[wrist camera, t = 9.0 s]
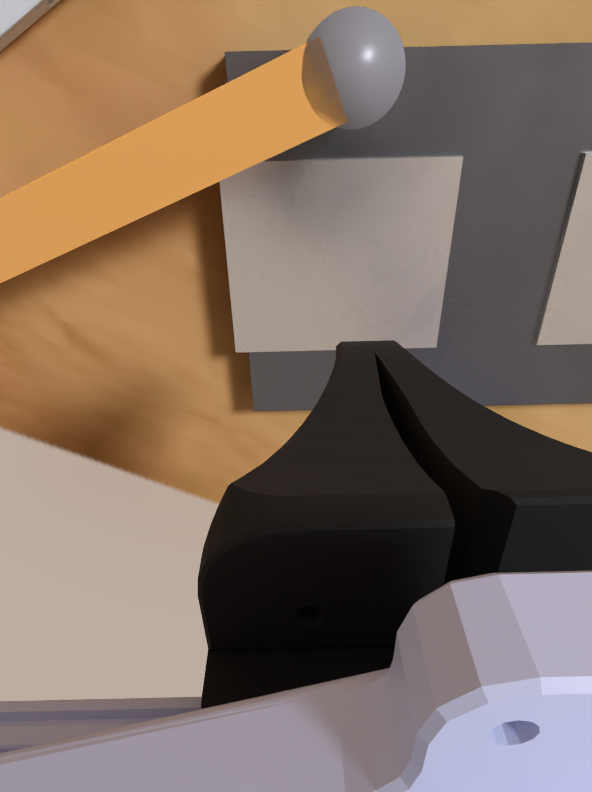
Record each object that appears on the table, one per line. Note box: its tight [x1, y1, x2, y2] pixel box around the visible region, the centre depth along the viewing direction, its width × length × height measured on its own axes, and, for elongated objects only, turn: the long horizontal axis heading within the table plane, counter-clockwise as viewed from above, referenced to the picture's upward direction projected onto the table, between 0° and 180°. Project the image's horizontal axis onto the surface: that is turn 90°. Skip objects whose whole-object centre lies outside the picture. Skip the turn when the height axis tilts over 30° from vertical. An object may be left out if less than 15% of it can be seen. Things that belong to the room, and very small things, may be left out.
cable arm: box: [0, 6, 406, 283], centre depth 15 cm, size 15×3×2 cm, turn 113°
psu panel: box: [219, 43, 592, 411], centre depth 19 cm, size 13×24×2 cm, turn 91°
